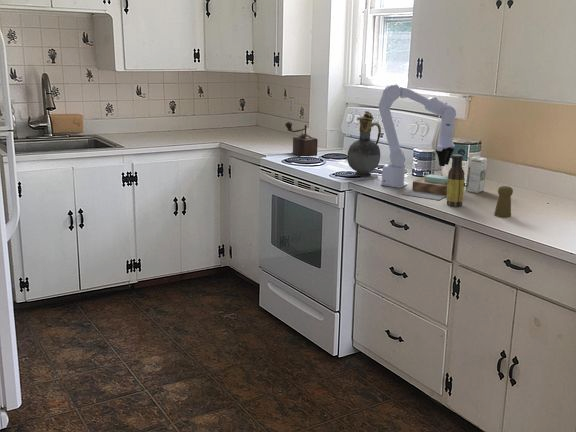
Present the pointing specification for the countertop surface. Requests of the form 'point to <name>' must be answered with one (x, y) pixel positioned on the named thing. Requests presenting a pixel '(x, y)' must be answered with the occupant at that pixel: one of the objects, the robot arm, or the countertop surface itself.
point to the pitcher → (364, 148)
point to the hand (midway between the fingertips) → (443, 165)
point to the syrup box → (476, 174)
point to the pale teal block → (436, 179)
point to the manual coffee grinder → (303, 143)
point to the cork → (504, 202)
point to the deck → (429, 187)
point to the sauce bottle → (455, 182)
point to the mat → (424, 195)
